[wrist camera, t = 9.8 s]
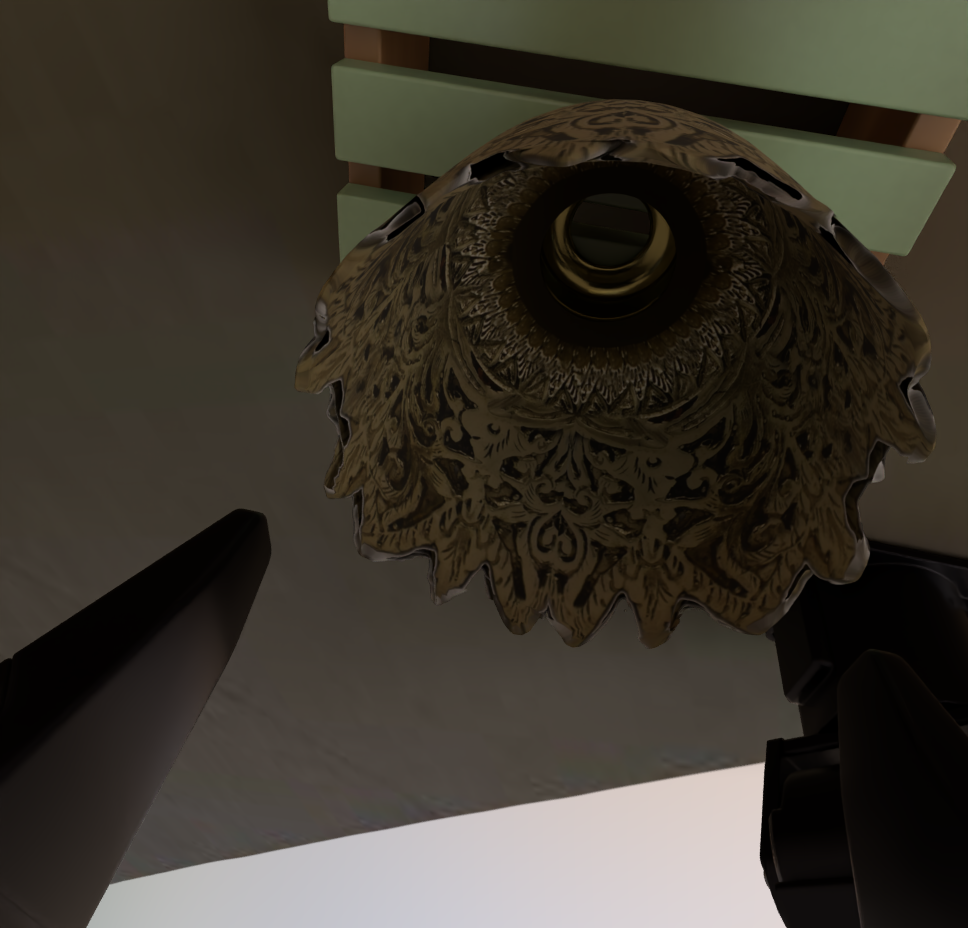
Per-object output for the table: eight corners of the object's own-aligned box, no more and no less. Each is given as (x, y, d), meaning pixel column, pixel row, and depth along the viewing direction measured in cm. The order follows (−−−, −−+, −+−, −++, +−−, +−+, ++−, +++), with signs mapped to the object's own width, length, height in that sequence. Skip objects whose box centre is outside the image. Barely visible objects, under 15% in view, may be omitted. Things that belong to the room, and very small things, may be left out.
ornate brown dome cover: (439, -1, 12) (234, 112, 6) (868, 32, 11) (1127, 201, 5) (440, 354, 17) (329, 609, 11) (736, 394, 16) (789, 693, 10)
